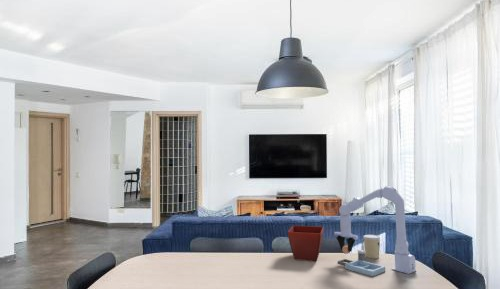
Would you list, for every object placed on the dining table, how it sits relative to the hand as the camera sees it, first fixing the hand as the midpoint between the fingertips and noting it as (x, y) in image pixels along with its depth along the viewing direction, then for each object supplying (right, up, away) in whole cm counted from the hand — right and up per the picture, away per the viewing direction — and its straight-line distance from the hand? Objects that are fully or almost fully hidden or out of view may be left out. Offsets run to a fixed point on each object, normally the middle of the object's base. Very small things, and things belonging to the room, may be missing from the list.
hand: (346, 250), depth 195 cm
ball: (0, 0, 0) cm, 0 cm away
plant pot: (-20, -8, +11) cm, 25 cm away
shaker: (+9, -7, +1) cm, 11 cm away
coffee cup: (+19, -8, +12) cm, 24 cm away
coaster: (0, -7, 0) cm, 7 cm away
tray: (+6, -7, -12) cm, 15 cm away
